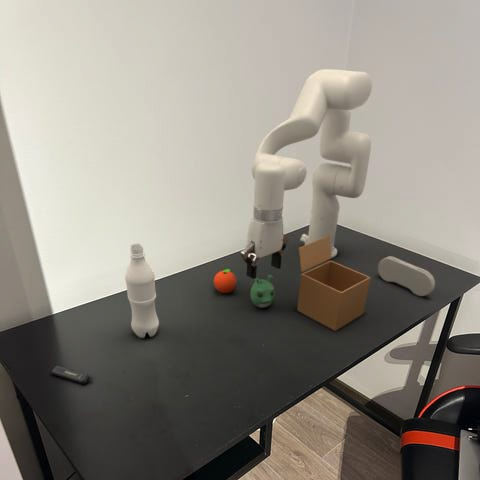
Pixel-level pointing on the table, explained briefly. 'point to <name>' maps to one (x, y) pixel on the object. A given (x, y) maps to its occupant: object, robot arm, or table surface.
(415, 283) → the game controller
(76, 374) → the usb stick
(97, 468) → the table surface
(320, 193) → the robot arm
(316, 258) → the flap
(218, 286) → the clementine
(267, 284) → the alien toy
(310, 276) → the carton
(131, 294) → the water bottle
